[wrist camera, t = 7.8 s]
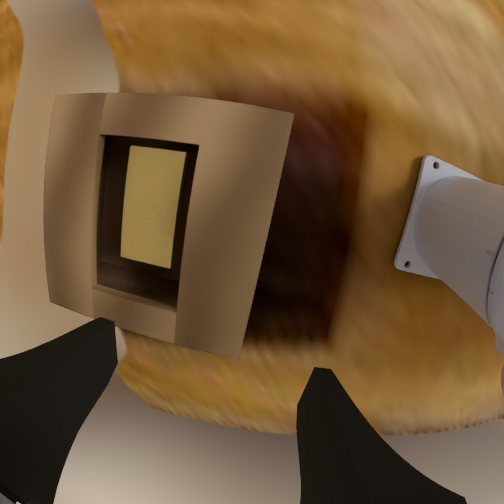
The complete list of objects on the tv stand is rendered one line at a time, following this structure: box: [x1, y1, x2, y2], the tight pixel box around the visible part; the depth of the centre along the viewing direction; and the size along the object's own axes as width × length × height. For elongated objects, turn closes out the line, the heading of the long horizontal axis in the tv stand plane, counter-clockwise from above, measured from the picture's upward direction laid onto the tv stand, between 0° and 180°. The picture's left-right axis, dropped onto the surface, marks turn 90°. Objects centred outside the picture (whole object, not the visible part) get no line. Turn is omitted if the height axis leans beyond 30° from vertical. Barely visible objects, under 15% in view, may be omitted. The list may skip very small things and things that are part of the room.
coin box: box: [44, 93, 294, 359], centre depth 16 cm, size 12×12×6 cm
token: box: [121, 146, 198, 269], centre depth 16 cm, size 3×6×4 cm, turn 169°
